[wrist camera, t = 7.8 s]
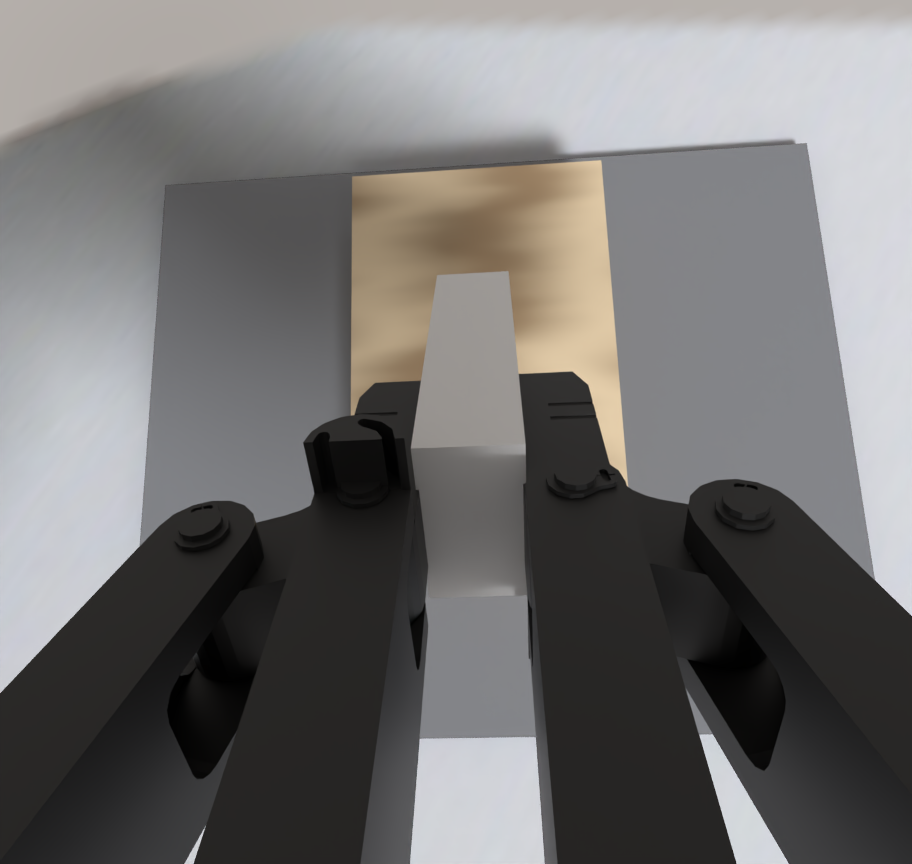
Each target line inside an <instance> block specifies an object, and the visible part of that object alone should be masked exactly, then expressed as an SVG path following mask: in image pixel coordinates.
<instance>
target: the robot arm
mask: <svg viewBox="0 0 912 864" xmlns="http://www.w3.org/2000/svg"><path fill="white" fill-rule="evenodd" d="M303 445H304V449H305V454H306V458H307V463H308V467H309V472H310V476H311V481H312V485H313V490H314V496H313V499H312V502H311V505H310V506H308V507H306V508H304V509H302V510H300V511H297V512H294V513H291V514H288V515H285V516H281V517H277V518H273V519H269V520H265V521H261V522H257V523H256V521H255V518H254V514H253V513H252V512H251V511H250V510H249V509H248V508H247V507H246V506H245V505H243V504H240V503H236V502H233V501H209V502H205V503H200V504H197V505H192V506H190V507H188V508H186V509H184V510H182V511H180V512H177V513H175V514H174V515H172V516H171V517H170V518H168V519H167V520H166V521H165V522H163V523H162V524H161V525H160V526H159V527H158V528H157V529H156V530H155V531H154V532H153V533H152V534H151V535H150V536H149V537H148V538H147V539H146V540H145V541H144V542H143V543H142V545H141V546H140V547H139V548H138V549H137V550H136V551H135V552H134V553H133V554H132V555H131V556H130V557H129V558H128V559H127V560H126V561H125V562H124V564H123V565H122V566H121V567H120V568H119V569H118V570H117V571H116V572H115V573H114V574H113V575H112V576H111V577H110V578H109V579H108V580H107V581H106V582H105V584H104V585H103V586H102V587H101V588H100V589H99V590H98V591H97V592H96V593H95V594H94V595H93V596H92V597H91V598H90V599H89V600H88V601H87V603H86V604H85V605H84V606H83V607H82V608H81V609H80V610H79V611H78V612H77V613H76V614H75V615H74V616H73V617H72V618H71V619H70V620H69V621H68V623H67V624H66V625H65V626H64V627H63V628H62V629H61V630H60V631H59V632H58V633H57V634H56V635H55V636H54V637H53V638H52V639H51V640H50V642H49V643H48V644H47V645H46V646H45V647H44V648H43V649H42V650H41V651H40V652H39V653H38V654H37V655H36V656H35V657H34V658H33V659H32V660H31V662H30V663H29V664H28V665H27V666H26V667H25V668H24V669H23V670H22V671H21V672H20V673H19V674H18V675H17V676H16V677H15V678H14V679H13V681H12V682H11V683H10V684H9V685H8V686H7V687H6V688H5V689H4V690H3V691H2V692H1V693H0V864H184V863H185V861H186V860H187V858H188V856H189V854H190V853H191V851H192V849H193V847H194V845H195V844H196V842H197V840H198V838H199V836H200V835H201V833H202V831H203V829H204V828H205V826H206V828H205V831H204V834H203V837H202V840H201V843H200V846H199V849H198V852H197V855H196V858H195V861H194V864H410V854H411V841H412V828H413V816H414V803H415V790H416V777H417V765H418V752H419V739H420V726H421V714H422V701H423V688H424V675H425V663H426V650H427V637H428V619H427V611H426V603H425V598H426V587H427V584H428V592H429V598H447V597H484V596H521V595H527V604H528V656H529V659H530V660H531V674H532V688H533V702H534V716H535V730H536V744H537V759H538V773H539V787H540V801H541V815H542V829H543V843H544V857H545V864H736V860H735V857H734V853H733V850H732V847H731V843H730V840H729V836H728V833H727V829H726V826H725V822H724V819H723V816H722V812H721V809H720V805H719V802H718V798H717V795H716V791H715V788H714V785H713V781H712V778H711V774H710V771H709V767H708V764H707V760H706V757H705V754H704V750H703V747H702V743H701V740H700V736H699V733H698V729H697V726H696V722H695V719H694V716H693V712H692V709H691V705H690V702H689V698H688V695H687V691H688V693H689V694H690V696H691V698H692V699H693V701H694V703H695V704H696V706H697V708H698V710H699V711H700V713H701V715H702V716H703V718H704V720H705V722H706V723H707V725H708V727H709V728H710V730H711V732H712V733H713V735H714V737H715V739H716V740H717V742H718V744H719V745H720V747H721V749H722V750H723V752H724V754H725V756H726V757H727V759H728V761H729V762H730V764H731V766H732V767H733V769H734V771H735V773H736V774H737V776H738V778H739V779H740V781H741V783H742V784H743V786H744V788H745V790H746V791H747V793H748V795H749V796H750V798H751V800H752V801H753V803H754V805H755V807H756V808H757V810H758V812H759V813H760V815H761V817H762V818H763V820H764V822H765V824H766V825H767V827H768V829H769V830H770V832H771V834H772V835H773V837H774V839H775V841H776V842H777V844H778V846H779V847H780V849H781V851H782V853H783V854H784V856H785V858H786V859H787V861H788V863H789V864H912V616H911V615H910V614H909V613H908V612H907V611H906V610H905V609H904V608H903V607H902V606H901V605H900V604H899V603H898V602H897V601H896V600H895V599H893V598H892V597H891V596H890V595H889V594H888V593H887V592H886V591H885V590H884V589H883V588H882V587H881V586H880V585H879V584H878V583H877V582H876V581H875V580H874V579H873V578H872V577H871V576H870V575H869V574H868V573H867V572H866V571H865V570H864V569H863V568H862V567H861V566H860V565H859V564H858V563H857V562H856V561H854V560H853V559H852V558H851V557H850V556H849V555H848V554H847V553H846V552H845V551H844V550H843V549H842V548H841V547H840V546H839V545H838V544H837V543H836V542H835V541H834V540H833V539H832V538H831V537H830V536H829V535H828V534H827V533H826V532H825V531H824V530H823V529H822V528H821V527H820V526H819V525H818V524H816V523H815V522H814V521H813V520H812V519H811V518H810V517H809V516H808V515H807V514H806V513H805V512H804V511H803V510H802V509H801V508H800V507H799V506H798V505H797V504H796V503H795V502H794V501H793V500H791V499H790V498H788V497H787V496H786V495H784V494H783V493H781V492H780V491H778V490H777V489H774V488H771V487H769V486H766V485H764V484H761V483H758V482H753V481H747V480H740V479H726V480H715V481H712V482H710V483H707V484H704V485H701V486H700V487H698V488H697V489H696V490H695V491H694V492H693V493H692V494H691V495H690V499H689V504H684V503H679V502H673V501H667V500H662V499H657V498H653V497H649V496H646V495H644V494H641V493H639V492H636V491H634V490H632V489H631V488H629V487H628V486H627V485H626V481H625V480H624V478H623V476H622V475H621V473H620V472H619V470H618V469H616V468H615V467H613V466H612V465H610V463H609V459H608V455H607V452H606V448H605V444H604V441H603V437H602V433H601V430H600V426H599V422H598V419H597V418H596V411H595V408H594V404H593V400H592V397H591V393H590V389H589V386H588V384H587V383H585V382H584V381H583V380H582V379H581V378H580V377H578V376H577V375H576V374H575V373H574V372H573V371H570V372H549V373H528V374H519V373H518V363H517V352H516V342H515V332H514V322H513V312H512V302H511V292H510V282H509V272H508V271H501V272H483V273H465V274H448V275H437V279H436V286H435V292H434V299H433V305H432V312H431V319H430V325H429V332H428V338H427V345H426V351H425V358H424V365H423V371H422V378H421V381H401V382H380V383H374V384H373V385H372V386H371V387H370V388H369V389H368V390H367V391H366V392H365V393H364V394H363V395H362V396H361V397H359V401H358V404H357V408H356V411H355V415H351V416H344V417H340V418H337V419H334V420H332V421H329V422H326V423H324V424H322V425H321V426H319V427H318V428H316V429H315V430H313V431H312V432H310V434H309V435H308V437H307V438H306V439H305V441H304V442H303ZM685 687H686V688H685ZM686 689H687V691H686Z"/></svg>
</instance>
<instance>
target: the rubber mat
mask: <svg viewBox="0 0 912 864" xmlns="http://www.w3.org/2000/svg"><path fill="white" fill-rule="evenodd" d="M597 160H601V163H602V175H603V187H604V199H605V211H606V224H607V236H608V248H609V260H610V272H611V284H612V297H613V309H614V321H615V333H616V345H617V357H618V369H619V382H620V394H621V406H622V418H623V430H624V442H625V454H626V467H627V479H628V487H629V488H631V489H632V490H634V491H636V492H639V493H641V494H644V495H646V496H649V497H653V498H657V499H662V500H667V501H673V502H679V503H684V504H689V499H690V495H691V494H692V493H693V492H694V491H695V490H696V489H697V488H698V487H700V486H701V485H704V484H707V483H710V482H712V481H715V480H726V479H740V480H747V481H753V482H758V483H761V484H764V485H766V486H769V487H771V488H774V489H777V490H778V491H780V492H781V493H783V494H784V495H786V496H787V497H788V498H790V499H791V500H793V501H794V502H795V503H796V504H797V505H798V506H799V507H800V508H801V509H802V510H803V511H804V512H805V513H806V514H807V515H808V516H809V517H810V518H811V519H812V520H813V521H814V522H815V523H816V524H818V525H819V526H820V527H821V528H822V529H823V530H824V531H825V532H826V533H827V534H828V535H829V536H830V537H831V538H832V539H833V540H834V541H835V542H836V543H837V544H838V545H839V546H840V547H841V548H842V549H843V550H844V551H845V552H846V553H847V554H848V555H849V556H850V557H851V558H852V559H853V560H854V561H856V562H857V563H858V564H859V565H860V566H861V567H862V568H863V569H864V570H865V571H866V572H867V573H868V574H869V575H870V576H871V577H872V578H873V579H874V580H875V578H874V571H873V565H872V559H871V552H870V546H869V539H868V533H867V527H866V520H865V514H864V507H863V501H862V495H861V488H860V482H859V475H858V469H857V463H856V456H855V450H854V443H853V437H852V431H851V424H850V418H849V411H848V405H847V398H846V392H845V386H844V379H843V373H842V366H841V360H840V354H839V347H838V341H837V334H836V328H835V322H834V315H833V309H832V302H831V296H830V290H829V283H828V277H827V270H826V264H825V257H824V251H823V245H822V238H821V232H820V225H819V219H818V213H817V206H816V200H815V193H814V187H813V181H812V174H811V168H810V161H809V155H808V149H807V143H803V144H787V145H772V146H757V147H742V148H726V149H711V150H696V151H681V152H665V153H650V154H635V155H620V156H605V157H589V158H574V159H559V160H544V161H528V162H513V163H498V164H483V165H467V166H452V167H437V168H422V169H406V170H391V171H376V172H361V173H346V174H330V175H315V176H300V177H285V178H269V179H254V180H239V181H224V182H208V183H193V184H178V185H166V187H165V201H164V215H163V229H162V243H161V257H160V271H159V285H158V299H157V313H156V327H155V341H154V354H153V368H152V382H151V396H150V410H149V424H148V438H147V452H146V466H145V480H144V494H143V508H142V522H141V536H140V546H141V545H142V543H143V542H144V541H145V540H146V539H147V538H148V537H149V536H150V535H151V534H152V533H153V532H154V531H155V530H156V529H157V528H158V527H159V526H160V525H161V524H162V523H163V522H165V521H166V520H167V519H168V518H170V517H171V516H172V515H174V514H175V513H177V512H180V511H182V510H184V509H186V508H188V507H190V506H192V505H197V504H200V503H205V502H209V501H233V502H236V503H240V504H243V505H245V506H246V507H247V508H248V509H249V510H250V511H251V512H252V513H253V514H254V518H255V521H256V523H257V522H261V521H265V520H269V519H273V518H277V517H281V516H285V515H288V514H291V513H294V512H297V511H300V510H302V509H304V508H306V507H308V506H310V505H311V502H312V499H313V496H314V490H313V485H312V481H311V476H310V472H309V467H308V463H307V458H306V454H305V449H304V445H303V442H304V441H305V439H306V438H307V437H308V435H309V434H310V432H312V431H313V430H315V429H316V428H318V427H319V426H321V425H322V424H324V423H326V422H329V421H332V420H334V419H337V418H340V417H344V416H351V297H352V176H368V175H383V174H398V173H413V172H429V171H444V170H459V169H475V168H490V167H505V166H521V165H536V164H551V163H567V162H582V161H597ZM425 603H426V611H427V619H428V637H427V650H426V663H425V675H424V688H423V701H422V714H421V726H420V739H421V738H489V737H536V730H535V716H534V702H533V688H532V674H531V660H530V659H529V656H528V604H527V595H521V596H484V597H447V598H429V592H428V584H427V587H426V598H425ZM685 688H686V687H685ZM686 691H687V689H686ZM687 695H688V698H689V702H690V705H691V709H692V712H693V716H694V719H695V722H696V726H697V729H698V733H699V734H713V733H712V732H711V730H710V728H709V727H708V725H707V723H706V722H705V720H704V718H703V716H702V715H701V713H700V711H699V710H698V708H697V706H696V704H695V703H694V701H693V699H692V698H691V696H690V694H689V693H688V691H687Z"/></svg>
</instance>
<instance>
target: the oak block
mask: <svg viewBox="0 0 912 864" xmlns="http://www.w3.org/2000/svg"><path fill="white" fill-rule="evenodd" d="M501 271H508V272H509V282H510V292H511V302H512V312H513V322H514V332H515V342H516V352H517V363H518V373H519V374H528V373H549V372H570V371H573V372H574V373H575V374H576V375H577V376H578V377H580V378H581V379H582V380H583V381H584V382H585V383H587V384H588V386H589V389H590V393H591V397H592V400H593V404H594V408H595V411H596V418H597V419H598V422H599V426H600V430H601V433H602V437H603V441H604V444H605V448H606V452H607V455H608V459H609V463H610V465H612V466H613V467H615V468H616V469H618V470H619V472H620V473H621V475H622V476H623V478H624V480H625V481H626V485H627V486H628V479H627V467H626V454H625V442H624V430H623V418H622V406H621V394H620V382H619V369H618V357H617V345H616V333H615V321H614V309H613V297H612V284H611V272H610V260H609V248H608V236H607V224H606V211H605V199H604V187H603V175H602V163H601V160H597V161H582V162H567V163H551V164H536V165H521V166H505V167H490V168H475V169H459V170H444V171H429V172H413V173H398V174H383V175H368V176H352V297H351V415H355V411H356V408H357V404H358V401H359V397H361V396H362V395H363V394H364V393H365V392H366V391H367V390H368V389H369V388H370V387H371V386H372V385H373V384H374V383H380V382H401V381H421V378H422V371H423V365H424V358H425V351H426V345H427V338H428V332H429V325H430V319H431V312H432V305H433V299H434V292H435V286H436V279H437V275H448V274H465V273H483V272H501Z"/></svg>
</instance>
